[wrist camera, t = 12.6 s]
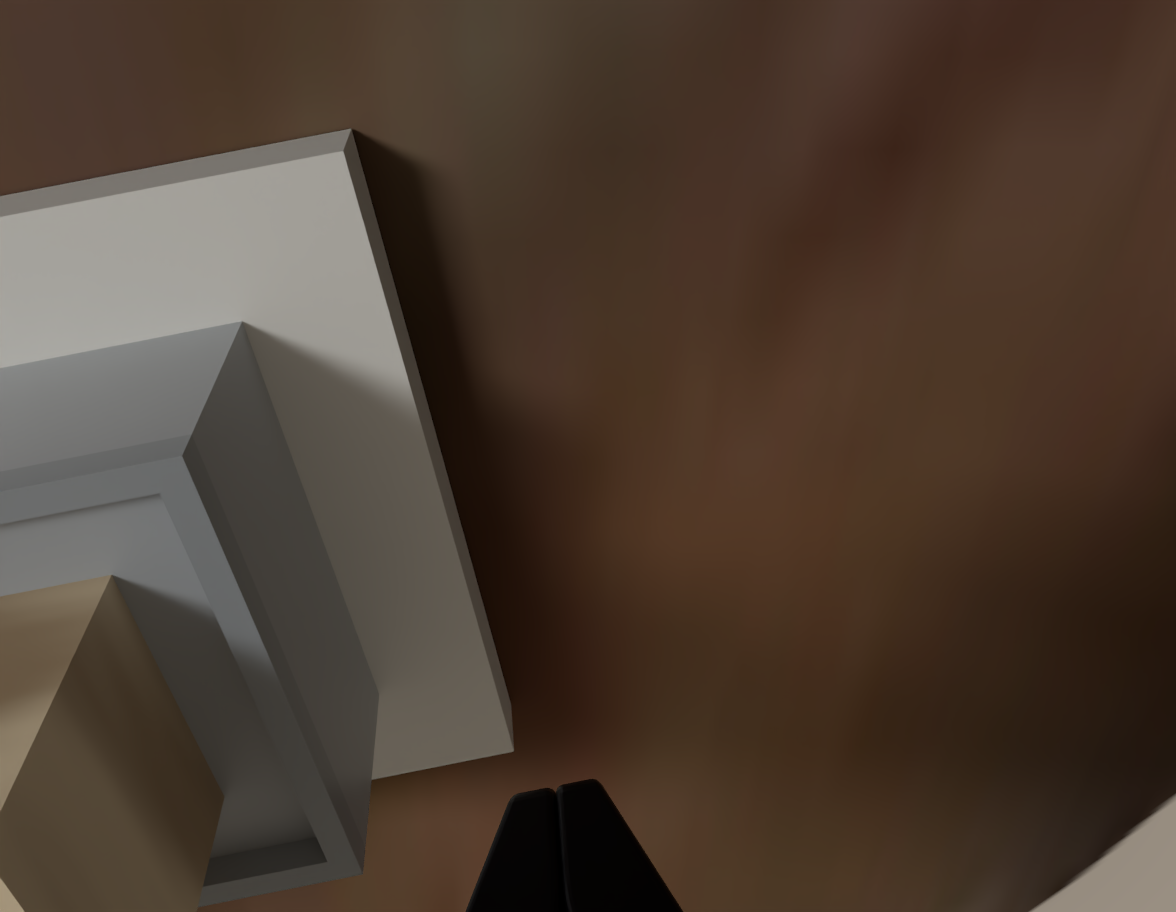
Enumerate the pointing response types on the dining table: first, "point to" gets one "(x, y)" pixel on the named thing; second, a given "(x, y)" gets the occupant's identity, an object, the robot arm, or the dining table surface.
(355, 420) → the grey square base plate
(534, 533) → the dining table surface
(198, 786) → the snap block
